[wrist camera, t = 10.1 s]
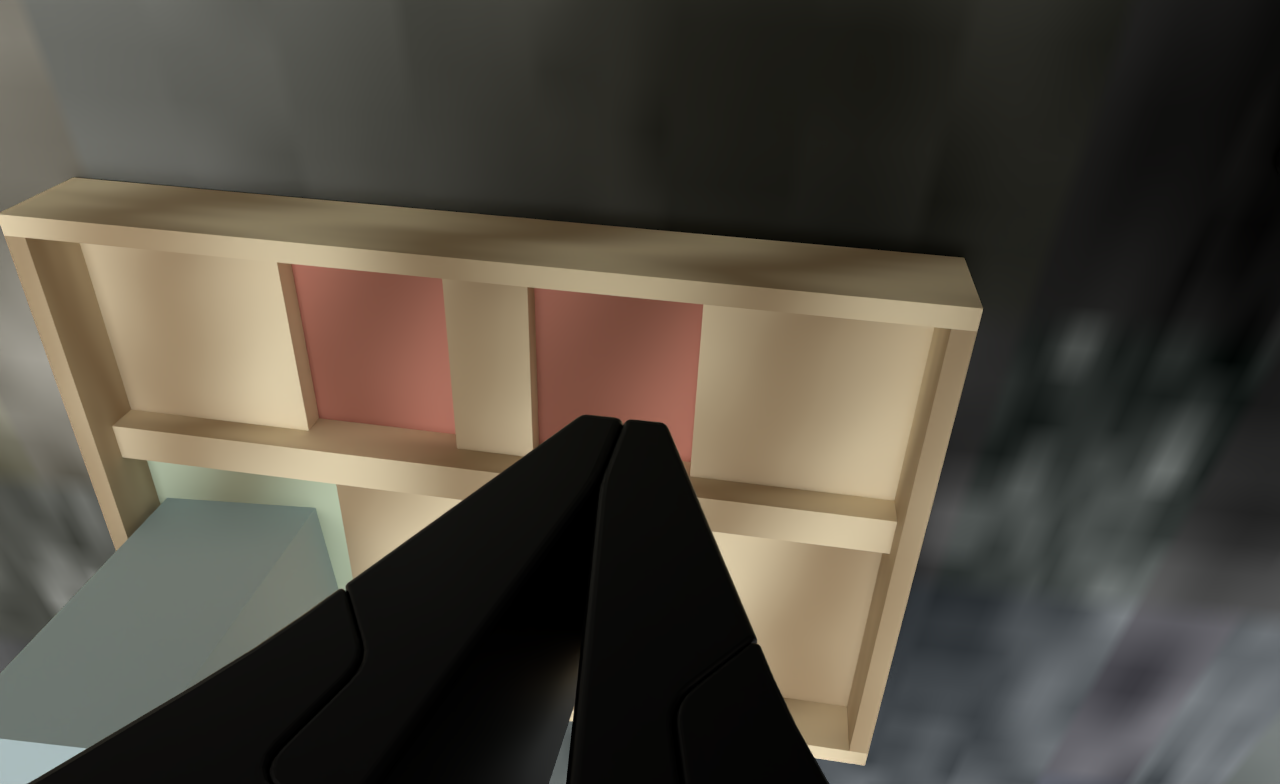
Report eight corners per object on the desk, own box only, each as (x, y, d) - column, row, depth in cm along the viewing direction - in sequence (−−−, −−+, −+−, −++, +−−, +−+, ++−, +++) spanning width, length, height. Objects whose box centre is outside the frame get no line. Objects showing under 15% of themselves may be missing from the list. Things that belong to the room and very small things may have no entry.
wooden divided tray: (964, 257, 20) (983, 308, 18) (860, 693, 27) (864, 765, 25) (73, 177, 22) (-4, 213, 20) (200, 598, 30) (153, 658, 27)
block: (315, 507, 25) (138, 754, 19) (349, 625, 28) (202, 882, 21) (167, 497, 26) (-56, 732, 19) (211, 613, 28) (26, 858, 22)
